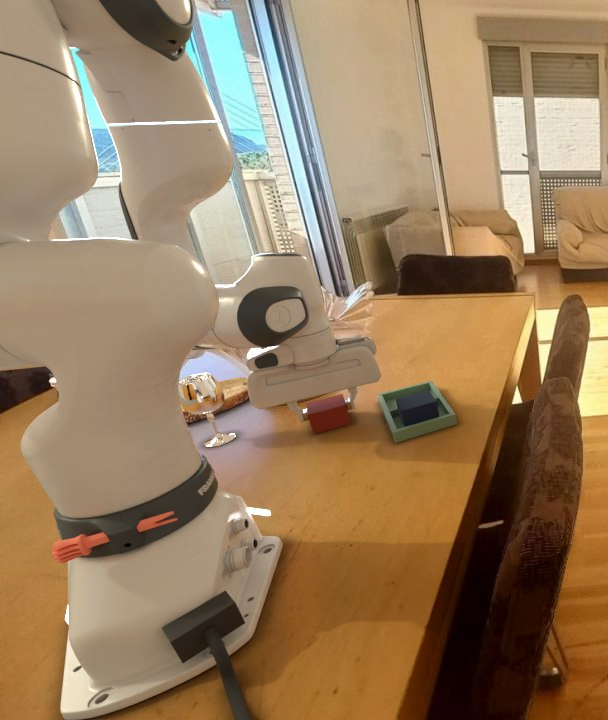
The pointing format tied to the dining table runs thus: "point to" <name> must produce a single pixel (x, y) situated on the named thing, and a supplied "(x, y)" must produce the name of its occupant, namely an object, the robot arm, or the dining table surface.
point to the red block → (327, 413)
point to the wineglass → (204, 402)
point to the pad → (417, 408)
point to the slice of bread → (233, 396)
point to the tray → (404, 433)
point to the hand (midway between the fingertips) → (328, 414)
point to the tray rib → (395, 412)
